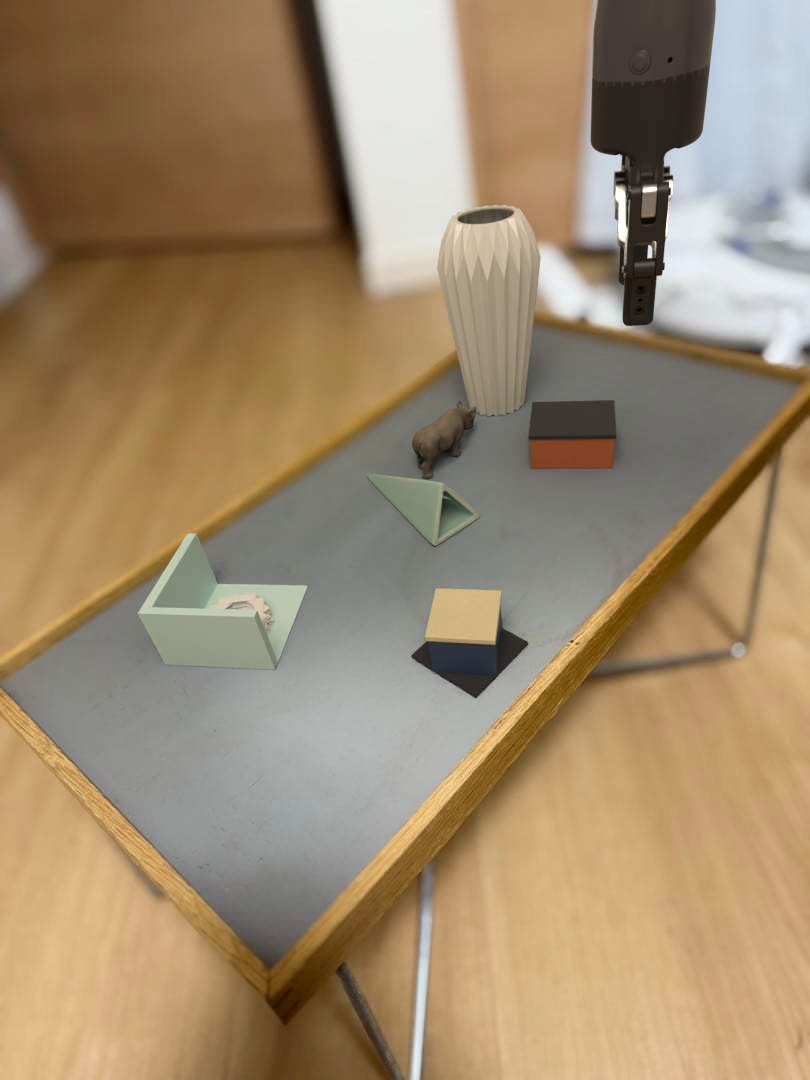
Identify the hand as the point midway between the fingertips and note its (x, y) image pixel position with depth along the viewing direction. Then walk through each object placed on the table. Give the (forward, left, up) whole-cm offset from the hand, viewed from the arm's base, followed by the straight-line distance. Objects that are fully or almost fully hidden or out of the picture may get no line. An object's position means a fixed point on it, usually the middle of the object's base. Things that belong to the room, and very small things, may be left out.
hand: (634, 302), depth 57 cm
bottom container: (+5, -21, -28) cm, 35 cm away
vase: (+16, -34, -28) cm, 47 cm away
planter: (+25, -8, -28) cm, 38 cm away
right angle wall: (+39, +12, -28) cm, 50 cm away
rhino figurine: (+21, -21, -28) cm, 41 cm away
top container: (+14, +14, -28) cm, 34 cm away
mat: (+14, +14, -28) cm, 34 cm away
